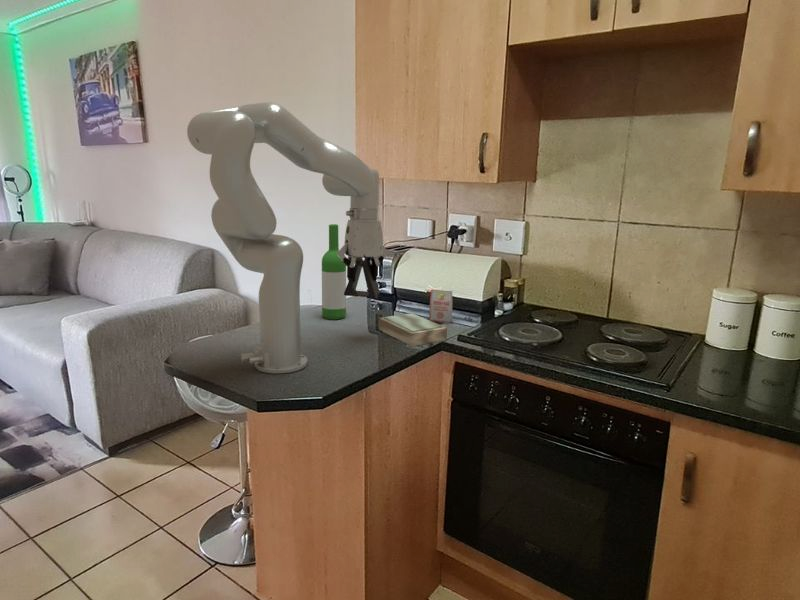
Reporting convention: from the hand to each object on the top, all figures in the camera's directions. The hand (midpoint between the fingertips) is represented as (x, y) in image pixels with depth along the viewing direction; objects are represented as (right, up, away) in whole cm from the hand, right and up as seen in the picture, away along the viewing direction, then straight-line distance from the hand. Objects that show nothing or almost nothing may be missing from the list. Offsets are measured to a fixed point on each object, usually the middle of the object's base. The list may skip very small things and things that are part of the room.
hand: (362, 279), depth 148 cm
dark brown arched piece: (0, -4, +1) cm, 4 cm away
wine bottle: (-11, -11, +25) cm, 30 cm away
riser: (+14, -16, +8) cm, 23 cm away
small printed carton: (+24, -12, +25) cm, 36 cm away
